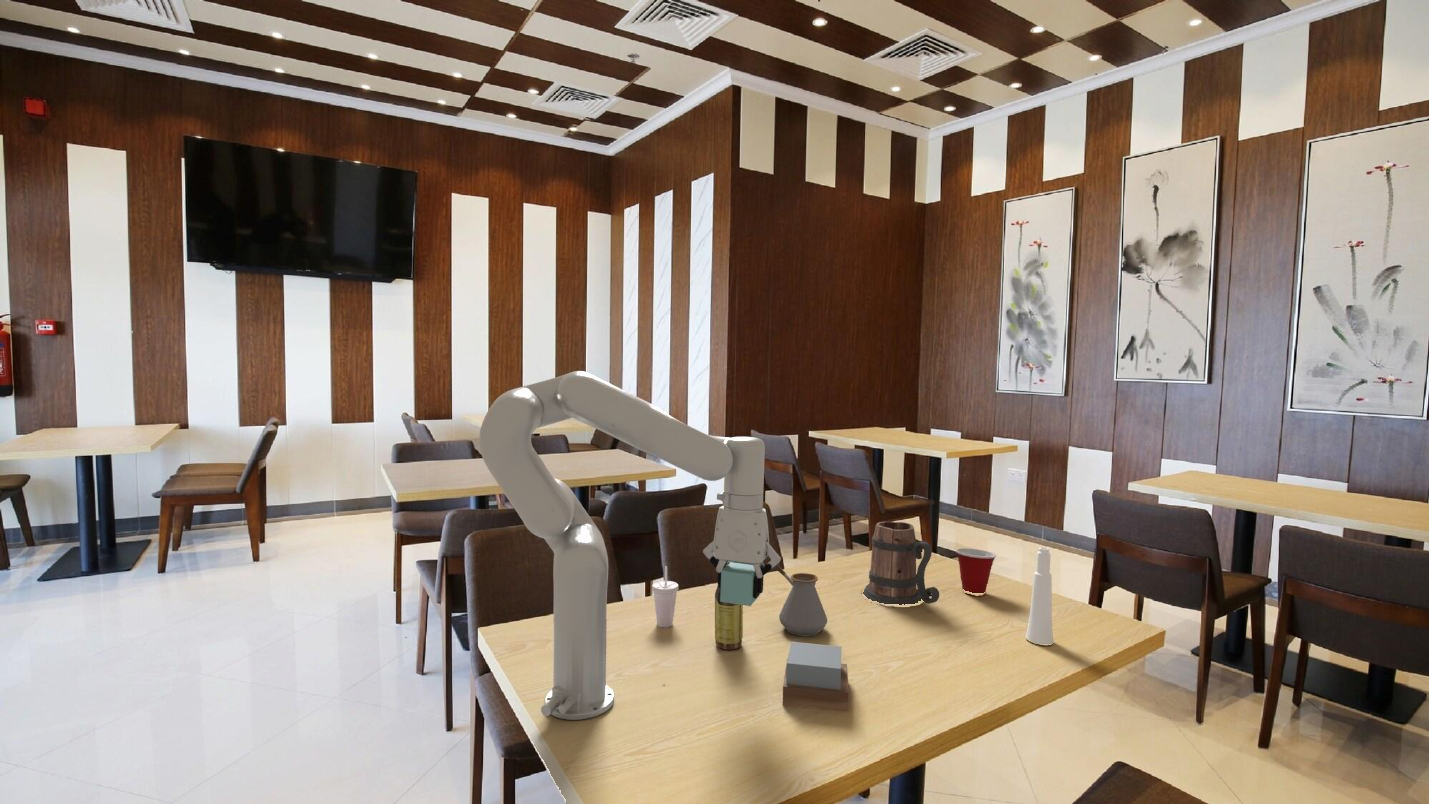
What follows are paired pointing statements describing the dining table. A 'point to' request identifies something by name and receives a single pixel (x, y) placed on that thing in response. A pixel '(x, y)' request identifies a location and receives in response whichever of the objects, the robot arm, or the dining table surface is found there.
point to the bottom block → (818, 695)
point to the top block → (814, 665)
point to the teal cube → (737, 584)
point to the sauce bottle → (728, 623)
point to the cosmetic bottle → (1041, 601)
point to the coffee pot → (802, 605)
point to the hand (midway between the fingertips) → (740, 592)
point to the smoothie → (665, 601)
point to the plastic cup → (975, 568)
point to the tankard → (898, 566)
